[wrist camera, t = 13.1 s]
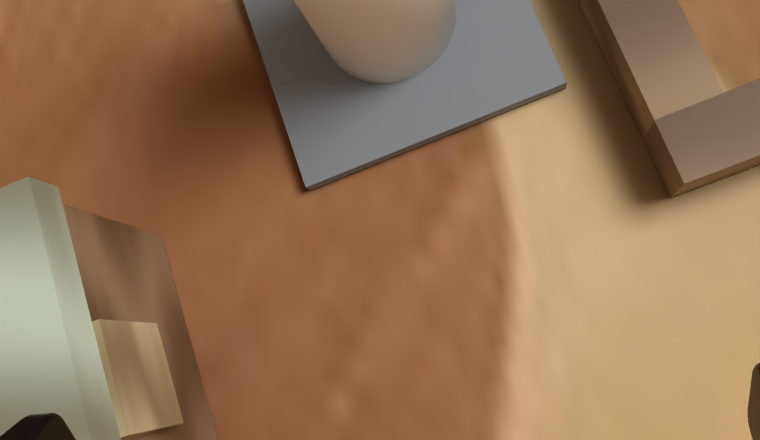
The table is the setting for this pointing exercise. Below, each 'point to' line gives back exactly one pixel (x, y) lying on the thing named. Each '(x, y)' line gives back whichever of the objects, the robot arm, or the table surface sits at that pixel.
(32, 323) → the toolbox
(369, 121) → the mat
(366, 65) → the key peg
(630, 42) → the brown square frame
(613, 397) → the table surface
